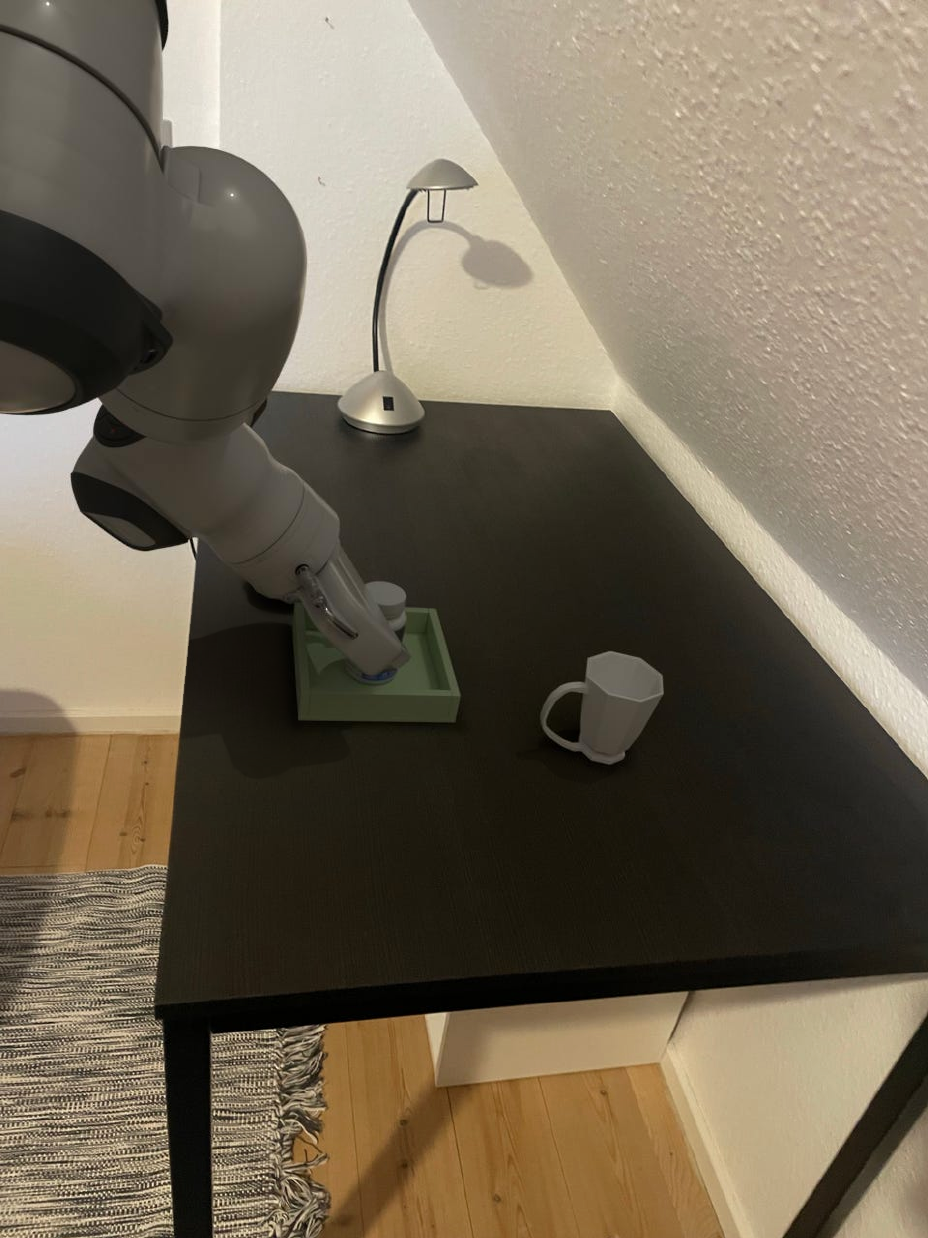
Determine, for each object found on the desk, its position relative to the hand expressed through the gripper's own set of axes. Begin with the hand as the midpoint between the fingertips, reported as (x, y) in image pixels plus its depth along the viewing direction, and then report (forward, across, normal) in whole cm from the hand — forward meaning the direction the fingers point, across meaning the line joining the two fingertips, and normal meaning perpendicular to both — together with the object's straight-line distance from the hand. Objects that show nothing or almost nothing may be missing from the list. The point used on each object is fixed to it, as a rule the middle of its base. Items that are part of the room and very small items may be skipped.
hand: (383, 627), depth 84 cm
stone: (+1, +14, +6) cm, 15 cm away
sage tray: (+3, 0, +4) cm, 5 cm away
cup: (+14, -14, -7) cm, 21 cm away
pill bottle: (+3, 0, +4) cm, 5 cm away
